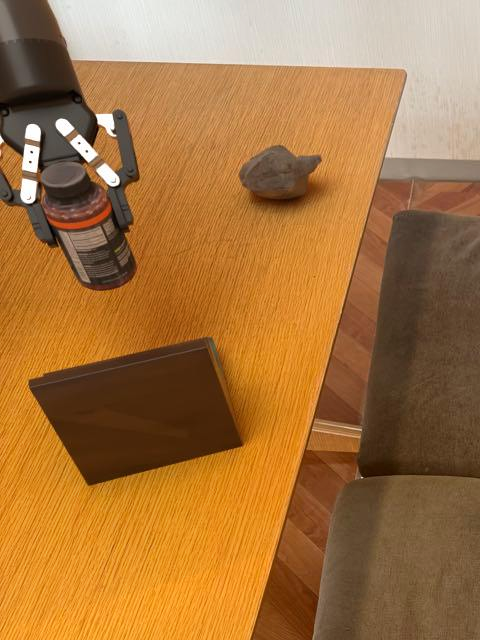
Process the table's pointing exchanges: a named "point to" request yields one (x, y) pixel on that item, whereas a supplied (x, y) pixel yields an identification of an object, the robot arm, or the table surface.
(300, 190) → the fossil
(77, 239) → the supplement bottle
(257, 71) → the table surface
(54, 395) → the brown wooden box
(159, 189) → the table surface
